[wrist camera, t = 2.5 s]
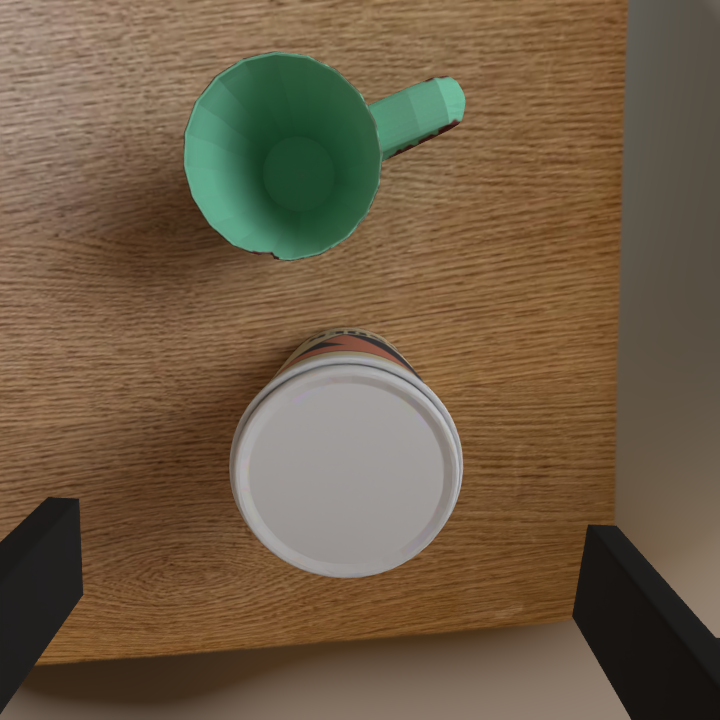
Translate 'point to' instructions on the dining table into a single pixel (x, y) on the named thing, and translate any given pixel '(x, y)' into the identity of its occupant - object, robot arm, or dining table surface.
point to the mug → (300, 150)
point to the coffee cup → (346, 458)
